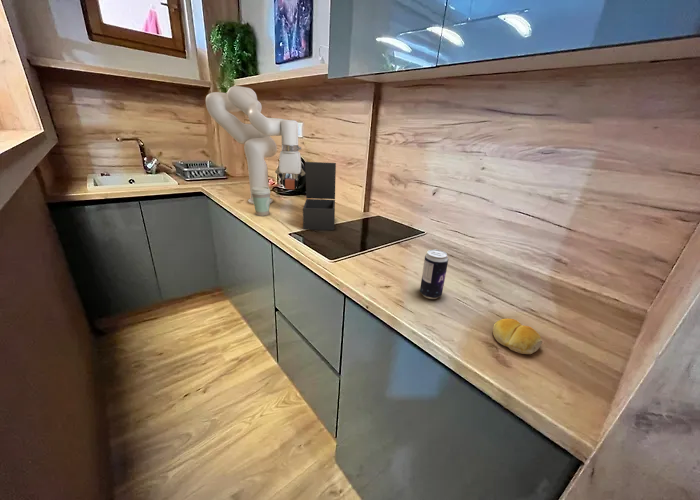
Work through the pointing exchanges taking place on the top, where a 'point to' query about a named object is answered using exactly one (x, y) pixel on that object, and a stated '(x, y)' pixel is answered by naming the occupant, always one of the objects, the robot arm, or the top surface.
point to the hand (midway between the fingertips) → (290, 187)
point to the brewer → (319, 214)
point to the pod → (289, 183)
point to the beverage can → (434, 274)
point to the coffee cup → (261, 200)
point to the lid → (320, 180)
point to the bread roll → (516, 336)
